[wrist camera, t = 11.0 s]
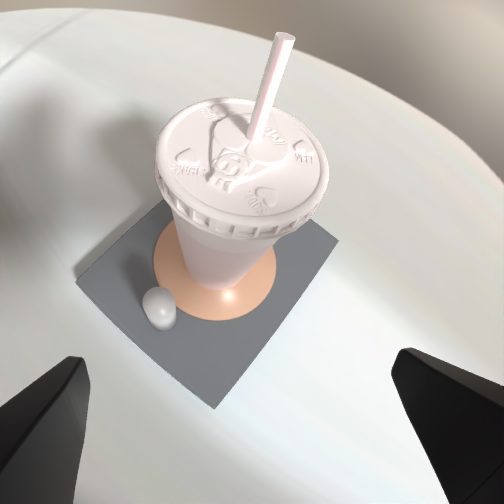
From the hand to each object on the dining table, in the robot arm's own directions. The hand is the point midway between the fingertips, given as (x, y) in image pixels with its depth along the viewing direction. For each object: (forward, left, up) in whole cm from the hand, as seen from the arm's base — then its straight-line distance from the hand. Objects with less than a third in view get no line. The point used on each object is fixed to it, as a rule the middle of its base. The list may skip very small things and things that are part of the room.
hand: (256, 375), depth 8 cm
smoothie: (+6, +5, -9) cm, 12 cm away
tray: (+6, +5, -11) cm, 13 cm away
